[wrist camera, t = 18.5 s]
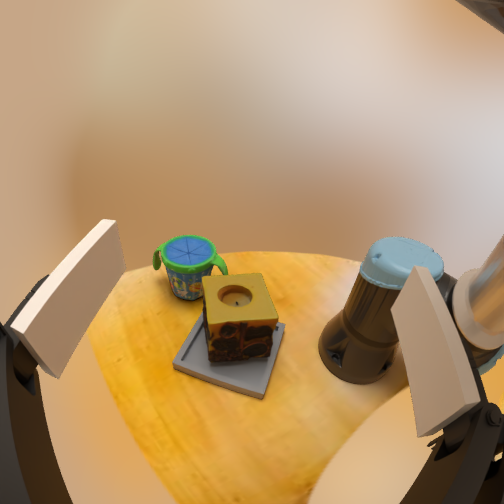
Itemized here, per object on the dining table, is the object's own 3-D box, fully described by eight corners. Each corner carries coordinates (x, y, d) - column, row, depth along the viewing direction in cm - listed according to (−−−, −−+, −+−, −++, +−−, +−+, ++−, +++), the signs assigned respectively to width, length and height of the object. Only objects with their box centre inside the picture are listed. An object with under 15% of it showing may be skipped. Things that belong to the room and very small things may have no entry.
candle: (270, 358, 43) (281, 319, 37) (208, 365, 40) (207, 326, 35) (256, 312, 51) (263, 271, 45) (202, 317, 48) (200, 275, 43)
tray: (283, 330, 50) (285, 324, 49) (262, 399, 38) (263, 394, 37) (208, 308, 53) (208, 301, 52) (173, 368, 41) (172, 362, 40)
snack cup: (234, 285, 59) (237, 246, 53) (213, 319, 51) (213, 278, 45) (172, 264, 63) (169, 226, 57) (146, 292, 54) (139, 252, 49)
